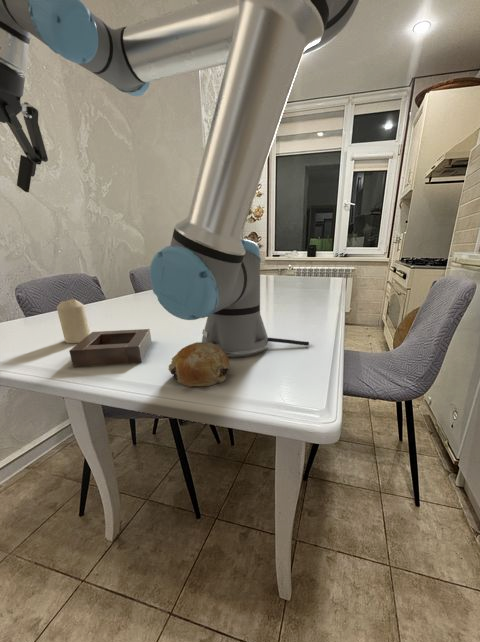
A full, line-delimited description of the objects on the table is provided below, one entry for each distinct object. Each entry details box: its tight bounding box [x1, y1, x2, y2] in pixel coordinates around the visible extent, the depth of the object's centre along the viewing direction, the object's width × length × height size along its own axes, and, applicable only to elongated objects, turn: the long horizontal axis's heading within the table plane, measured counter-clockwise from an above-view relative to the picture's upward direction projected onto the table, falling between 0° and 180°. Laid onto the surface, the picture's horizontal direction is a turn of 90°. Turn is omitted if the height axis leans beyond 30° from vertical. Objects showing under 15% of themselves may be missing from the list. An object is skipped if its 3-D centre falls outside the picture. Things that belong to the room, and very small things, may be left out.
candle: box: [56, 298, 91, 344], centre depth 70 cm, size 6×6×10 cm
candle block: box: [68, 328, 153, 368], centre depth 63 cm, size 13×13×4 cm
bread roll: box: [168, 341, 230, 388], centre depth 52 cm, size 10×10×8 cm
